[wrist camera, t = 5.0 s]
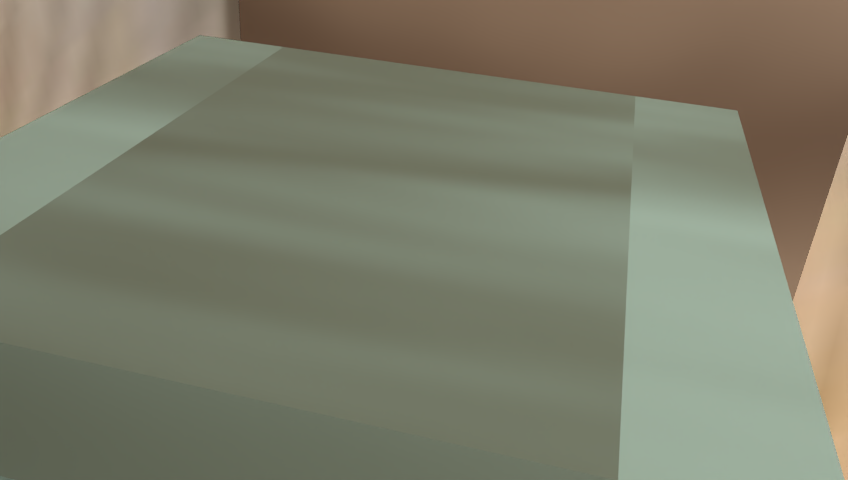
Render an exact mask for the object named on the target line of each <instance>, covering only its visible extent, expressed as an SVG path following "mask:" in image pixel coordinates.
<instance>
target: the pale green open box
mask: <svg viewBox="0 0 848 480" xmlns="http://www.w3.org/2000/svg"><path fill="white" fill-rule="evenodd" d="M0 480H844V477H843V473H842V470H841V466H840V463H839V459H838V456H837V452H836V449H835V446H834V442H833V439H832V435H831V432H830V428H829V425H828V421H827V418H826V414H825V411H824V408H823V404H822V401H821V397H820V394H819V390H818V387H817V383H816V380H815V377H814V373H813V370H812V366H811V363H810V359H809V356H808V352H807V349H806V345H805V342H804V339H803V335H802V332H801V328H800V325H799V321H798V318H797V314H796V311H795V308H794V304H793V301H792V297H791V294H790V290H789V287H788V283H787V280H786V276H785V273H784V270H783V266H782V263H781V259H780V256H779V252H778V249H777V245H776V242H775V239H774V235H773V232H772V228H771V225H770V221H769V218H768V214H767V211H766V207H765V204H764V201H763V197H762V194H761V190H760V187H759V183H758V180H757V176H756V173H755V170H754V166H753V163H752V159H751V156H750V152H749V149H748V145H747V142H746V138H745V135H744V132H743V128H742V125H741V121H740V118H739V114H738V111H737V110H730V109H723V108H716V107H708V106H701V105H694V104H687V103H680V102H673V101H666V100H658V99H651V98H644V97H637V96H630V95H623V94H616V93H609V92H601V91H594V90H587V89H580V88H573V87H566V86H559V85H551V84H544V83H537V82H530V81H523V80H516V79H509V78H501V77H494V76H487V75H480V74H473V73H466V72H459V71H451V70H444V69H437V68H430V67H423V66H416V65H409V64H401V63H394V62H387V61H380V60H373V59H366V58H359V57H351V56H344V55H337V54H330V53H323V52H316V51H309V50H302V49H294V48H287V47H280V46H273V45H266V44H259V43H252V42H244V41H237V40H230V39H223V38H216V37H209V36H202V35H199V36H198V37H196V38H194V39H192V40H190V41H188V42H186V43H184V44H182V45H180V46H178V47H176V48H174V49H172V50H170V51H168V52H166V53H165V54H163V55H161V56H159V57H157V58H155V59H153V60H151V61H149V62H147V63H145V64H143V65H141V66H139V67H137V68H135V69H133V70H131V71H130V72H128V73H126V74H124V75H122V76H120V77H118V78H116V79H114V80H112V81H110V82H108V83H106V84H104V85H102V86H100V87H98V88H96V89H95V90H93V91H91V92H89V93H87V94H85V95H83V96H81V97H79V98H77V99H75V100H73V101H71V102H69V103H67V104H65V105H63V106H62V107H60V108H58V109H56V110H54V111H52V112H50V113H48V114H46V115H44V116H42V117H40V118H38V119H36V120H34V121H32V122H30V123H28V124H27V125H25V126H23V127H21V128H19V129H17V130H15V131H13V132H11V133H9V134H7V135H5V136H3V137H1V138H0Z"/></svg>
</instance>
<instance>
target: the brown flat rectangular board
mask: <svg viewBox="0 0 848 480" xmlns="http://www.w3.org/2000/svg"><path fill="white" fill-rule="evenodd" d="M239 13H240V35H241V41H244V42H252V43H259V44H266V45H273V46H280V47H287V48H294V49H302V50H309V51H316V52H323V53H330V54H337V55H344V56H351V57H359V58H366V59H373V60H380V61H387V62H394V63H401V64H409V65H416V66H423V67H430V68H437V69H444V70H451V71H459V72H466V73H473V74H480V75H487V76H494V77H501V78H509V79H516V80H523V81H530V82H537V83H544V84H551V85H559V86H566V87H573V88H580V89H587V90H594V91H601V92H609V93H616V94H623V95H630V96H637V97H644V98H651V99H658V100H666V101H673V102H680V103H687V104H694V105H701V106H708V107H716V108H723V109H730V110H737V111H738V114H739V118H740V121H741V125H742V128H743V132H744V135H745V138H746V142H747V145H748V149H749V152H750V156H751V159H752V163H753V166H754V170H755V173H756V176H757V180H758V183H759V187H760V190H761V194H762V197H763V201H764V204H765V207H766V211H767V214H768V218H769V221H770V225H771V228H772V232H773V235H774V239H775V242H776V245H777V249H778V252H779V256H780V259H781V263H782V266H783V270H784V273H785V276H786V280H787V283H788V287H789V290H790V294H791V297H792V301H793V298H794V295H795V292H796V289H797V286H798V283H799V280H800V277H801V274H802V271H803V268H804V265H805V262H806V259H807V256H808V253H809V250H810V247H811V244H812V241H813V238H814V235H815V232H816V229H817V226H818V223H819V220H820V216H821V213H822V210H823V207H824V204H825V201H826V198H827V195H828V192H829V189H830V186H831V183H832V180H833V177H834V174H835V171H836V168H837V165H838V162H839V159H840V156H841V153H842V150H843V147H844V144H845V141H846V138H847V135H848V0H239Z"/></svg>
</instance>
